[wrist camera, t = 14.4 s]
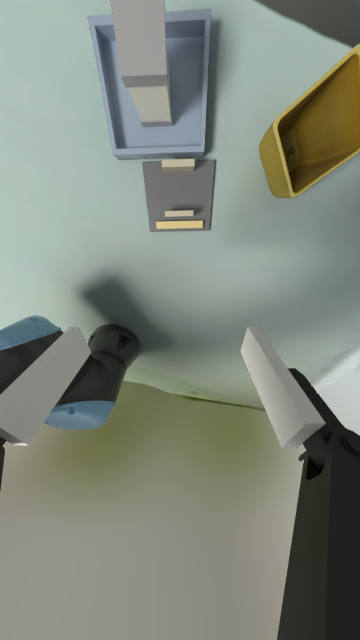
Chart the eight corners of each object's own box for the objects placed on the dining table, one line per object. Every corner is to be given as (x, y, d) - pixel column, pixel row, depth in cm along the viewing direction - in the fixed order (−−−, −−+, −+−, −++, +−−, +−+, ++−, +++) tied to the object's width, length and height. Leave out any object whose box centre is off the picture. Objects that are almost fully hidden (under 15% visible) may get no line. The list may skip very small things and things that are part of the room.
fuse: (142, 127, 23) (120, 76, 15) (137, 76, 21) (107, -20, 12) (172, 126, 23) (166, 74, 15) (170, 74, 20) (162, -23, 12)
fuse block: (150, 231, 31) (147, 232, 28) (143, 163, 26) (137, 156, 23) (209, 230, 31) (211, 231, 28) (214, 160, 25) (218, 153, 22)
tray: (118, 159, 25) (113, 154, 23) (97, 37, 19) (87, 15, 17) (202, 157, 25) (204, 151, 23) (207, 31, 19) (211, 9, 17)
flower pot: (303, 98, 22) (366, 35, 14) (315, 166, 26) (369, 145, 18) (245, 150, 25) (272, 121, 17) (263, 205, 29) (291, 200, 21)
